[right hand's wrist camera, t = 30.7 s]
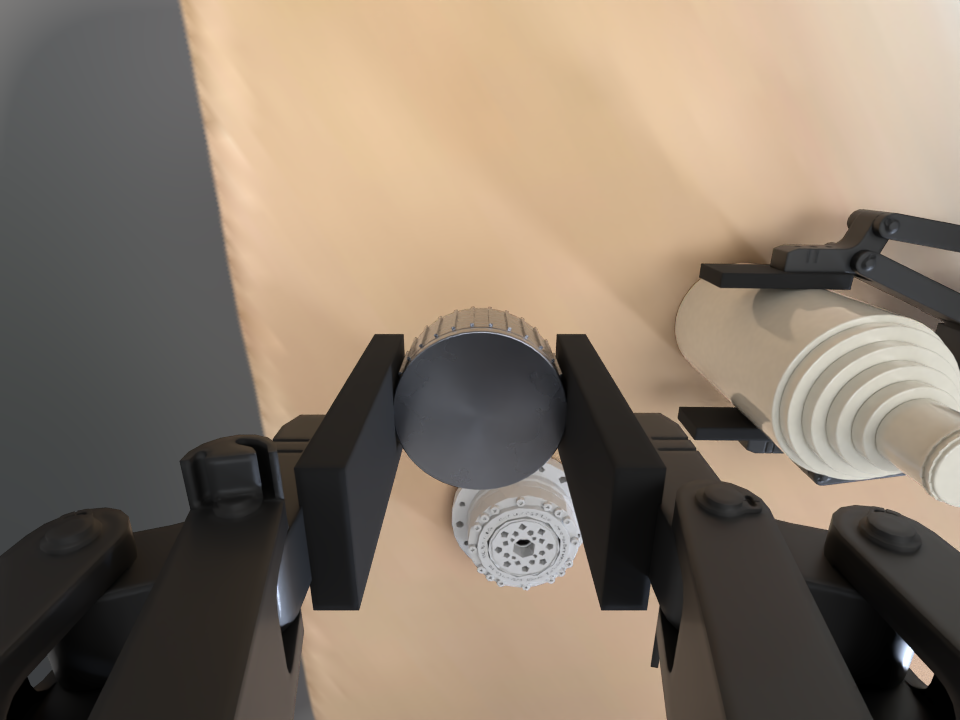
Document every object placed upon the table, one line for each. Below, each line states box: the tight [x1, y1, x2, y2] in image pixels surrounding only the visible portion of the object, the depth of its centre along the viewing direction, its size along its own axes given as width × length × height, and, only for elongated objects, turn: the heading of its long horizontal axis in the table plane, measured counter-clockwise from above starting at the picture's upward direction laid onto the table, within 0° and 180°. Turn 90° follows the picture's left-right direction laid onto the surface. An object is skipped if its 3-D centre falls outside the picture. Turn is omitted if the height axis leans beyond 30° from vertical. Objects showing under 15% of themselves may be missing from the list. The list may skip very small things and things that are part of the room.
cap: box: [393, 307, 567, 490], centre depth 13 cm, size 4×4×2 cm
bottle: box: [675, 263, 960, 507], centre depth 27 cm, size 8×8×18 cm
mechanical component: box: [452, 458, 583, 590], centre depth 38 cm, size 10×4×10 cm
